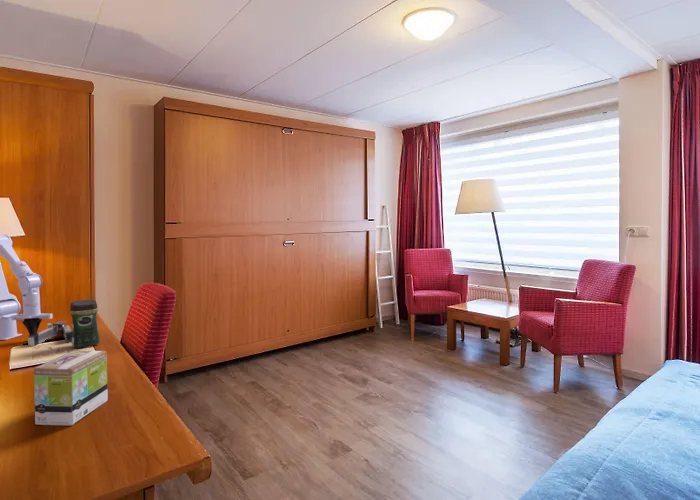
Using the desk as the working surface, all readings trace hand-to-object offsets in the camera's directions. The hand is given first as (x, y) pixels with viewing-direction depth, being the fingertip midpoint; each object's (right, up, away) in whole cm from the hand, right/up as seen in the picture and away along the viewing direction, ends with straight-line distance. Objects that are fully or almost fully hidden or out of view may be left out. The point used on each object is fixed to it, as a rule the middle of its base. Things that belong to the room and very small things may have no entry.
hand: (33, 336), depth 177 cm
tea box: (+59, -7, -64) cm, 87 cm away
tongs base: (+10, -2, +5) cm, 11 cm away
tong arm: (+4, -2, +3) cm, 6 cm away
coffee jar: (+26, -3, -6) cm, 26 cm away
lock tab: (-1, -1, +11) cm, 11 cm away
